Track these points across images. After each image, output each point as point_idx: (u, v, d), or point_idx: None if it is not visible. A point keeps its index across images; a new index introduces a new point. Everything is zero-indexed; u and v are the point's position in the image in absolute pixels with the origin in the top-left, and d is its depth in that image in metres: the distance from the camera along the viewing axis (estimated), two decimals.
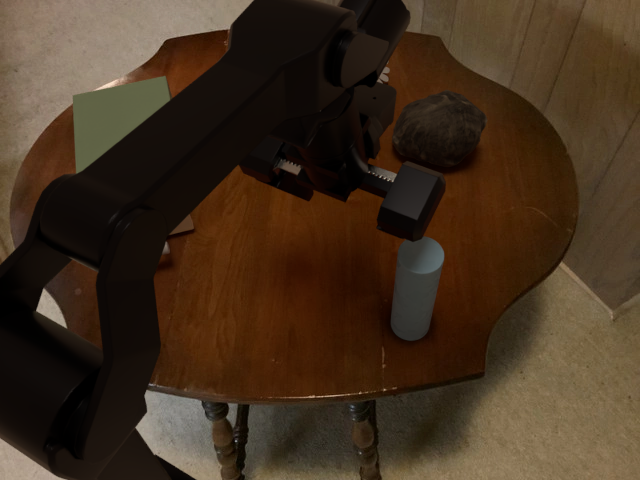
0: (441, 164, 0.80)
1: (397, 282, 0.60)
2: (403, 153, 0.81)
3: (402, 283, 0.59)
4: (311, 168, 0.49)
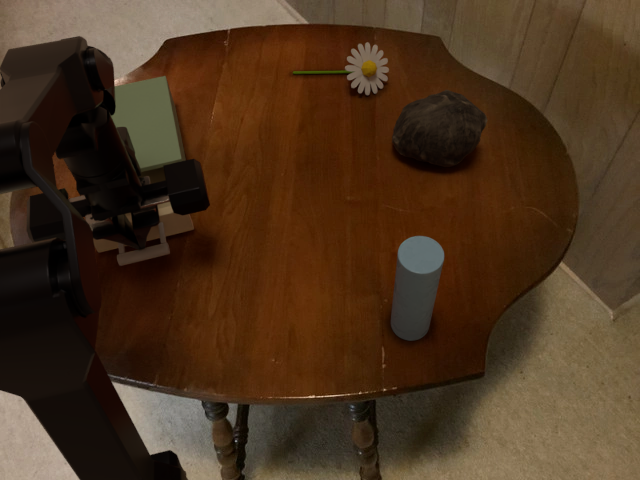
0: (441, 164, 0.80)
1: (397, 282, 0.60)
2: (403, 153, 0.81)
3: (402, 283, 0.59)
4: (103, 189, 0.59)
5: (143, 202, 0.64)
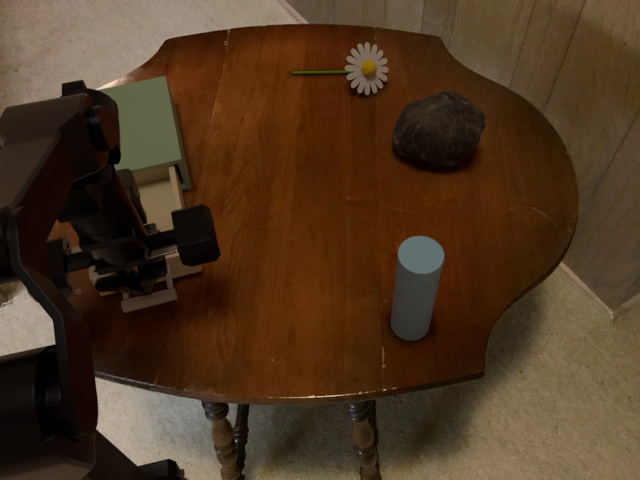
0: (441, 164, 0.80)
1: (397, 282, 0.60)
2: (403, 153, 0.81)
3: (402, 283, 0.59)
4: (108, 246, 0.55)
5: (150, 253, 0.60)
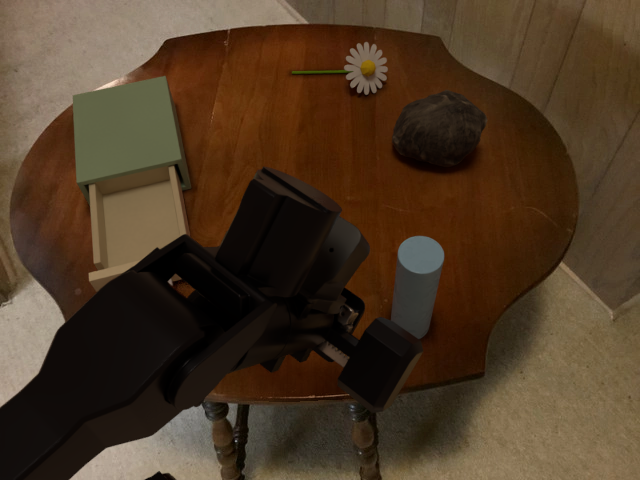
0: (441, 164, 0.80)
1: (397, 282, 0.60)
2: (403, 153, 0.81)
3: (402, 283, 0.59)
4: None
5: (321, 343, 0.46)
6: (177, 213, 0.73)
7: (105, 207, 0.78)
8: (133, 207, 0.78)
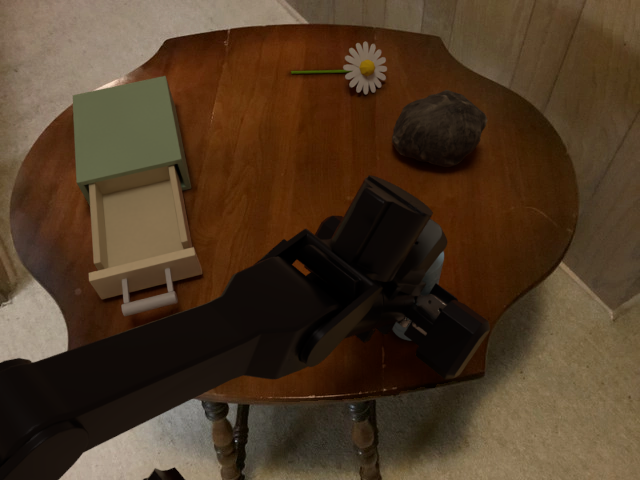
0: (441, 164, 0.80)
1: None
2: (403, 153, 0.81)
3: None
4: None
5: None
6: (177, 213, 0.73)
7: (105, 207, 0.78)
8: (133, 207, 0.78)
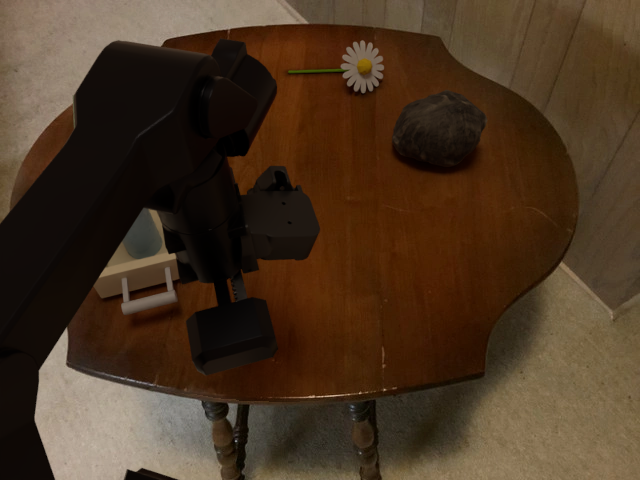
0: (441, 164, 0.80)
1: None
2: (403, 153, 0.81)
3: None
4: None
5: None
6: None
7: None
8: None
